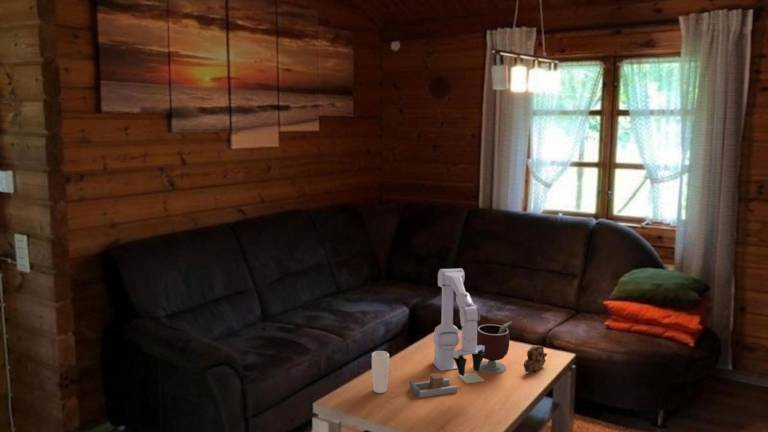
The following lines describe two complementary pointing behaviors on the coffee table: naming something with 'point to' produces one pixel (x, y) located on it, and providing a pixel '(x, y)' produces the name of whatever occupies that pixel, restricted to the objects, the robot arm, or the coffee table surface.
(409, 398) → the coffee table surface
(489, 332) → the mate gourd
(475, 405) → the coffee table surface
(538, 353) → the wooden carving
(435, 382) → the block
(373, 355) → the drinking glass
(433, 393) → the channel
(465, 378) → the pad
